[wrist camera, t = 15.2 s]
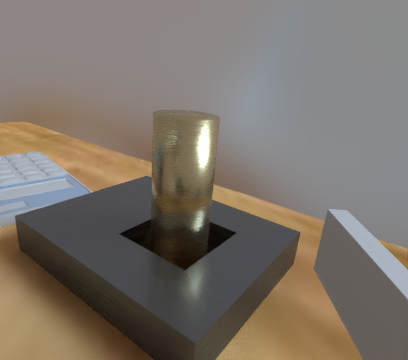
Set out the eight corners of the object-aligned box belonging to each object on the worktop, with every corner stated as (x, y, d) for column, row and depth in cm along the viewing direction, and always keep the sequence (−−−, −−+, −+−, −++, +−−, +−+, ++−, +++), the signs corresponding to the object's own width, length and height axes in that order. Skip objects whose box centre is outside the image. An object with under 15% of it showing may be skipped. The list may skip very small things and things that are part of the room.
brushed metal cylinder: (138, 267, 24) (138, 112, 19) (175, 245, 27) (182, 108, 23) (180, 293, 21) (191, 123, 17) (216, 265, 25) (232, 117, 20)
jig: (19, 248, 25) (14, 215, 24) (146, 199, 35) (146, 175, 34) (191, 388, 15) (195, 343, 14) (293, 263, 26) (300, 232, 25)
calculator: (42, 160, 47) (41, 149, 47) (99, 207, 34) (99, 192, 33) (-70, 175, 39) (-74, 161, 38) (-54, 246, 25) (-59, 226, 24)
